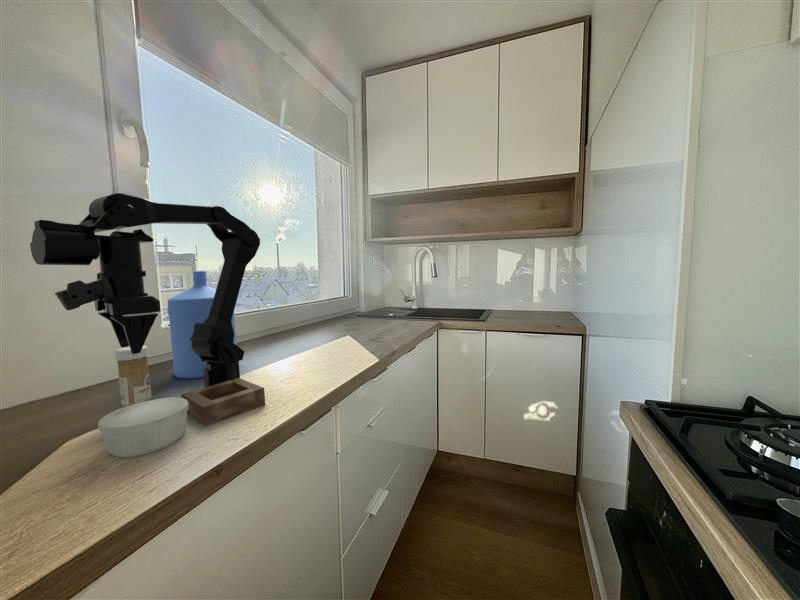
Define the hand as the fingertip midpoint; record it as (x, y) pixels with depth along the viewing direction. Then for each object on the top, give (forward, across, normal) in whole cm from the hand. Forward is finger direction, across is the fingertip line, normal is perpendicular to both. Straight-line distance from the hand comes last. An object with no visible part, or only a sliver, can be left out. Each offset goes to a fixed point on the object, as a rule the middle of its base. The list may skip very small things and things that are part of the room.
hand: (130, 350), depth 58 cm
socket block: (+13, +10, +12) cm, 20 cm away
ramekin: (+13, +13, -1) cm, 19 cm away
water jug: (+13, -22, +20) cm, 32 cm away
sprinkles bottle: (+13, 0, 0) cm, 13 cm away
